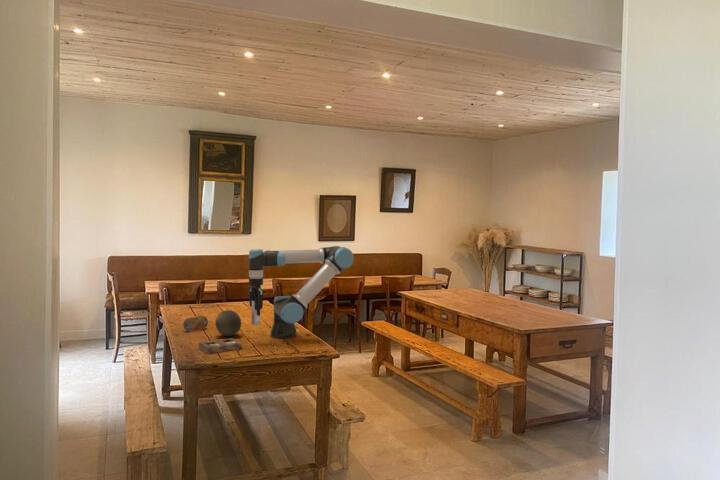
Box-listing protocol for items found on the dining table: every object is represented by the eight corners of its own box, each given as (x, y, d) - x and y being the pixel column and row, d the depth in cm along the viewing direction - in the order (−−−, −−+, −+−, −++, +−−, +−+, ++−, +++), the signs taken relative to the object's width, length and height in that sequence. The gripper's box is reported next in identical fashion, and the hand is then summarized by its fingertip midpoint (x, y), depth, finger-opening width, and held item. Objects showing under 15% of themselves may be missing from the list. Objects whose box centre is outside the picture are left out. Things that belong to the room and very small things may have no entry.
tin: (185, 332, 305) (185, 318, 304) (182, 331, 307) (182, 317, 307) (208, 329, 316) (208, 315, 315) (205, 328, 318) (205, 314, 318)
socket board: (231, 343, 282) (231, 337, 282) (241, 348, 272) (241, 342, 271) (198, 348, 271) (198, 341, 271) (208, 353, 261) (208, 347, 261)
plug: (257, 323, 286) (257, 299, 285) (260, 324, 283) (260, 300, 282) (251, 324, 284) (251, 300, 283) (254, 325, 281) (254, 301, 280)
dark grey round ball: (218, 333, 304) (218, 308, 304) (242, 333, 305) (243, 308, 304) (212, 339, 290) (213, 312, 289) (238, 339, 291) (238, 313, 290)
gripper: (243, 276, 286) (243, 318, 288) (256, 279, 273) (256, 324, 275) (255, 275, 291) (255, 317, 292) (269, 278, 278) (269, 322, 279)
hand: (256, 320), depth 283 cm, fingers closed on plug, 3 cm apart
